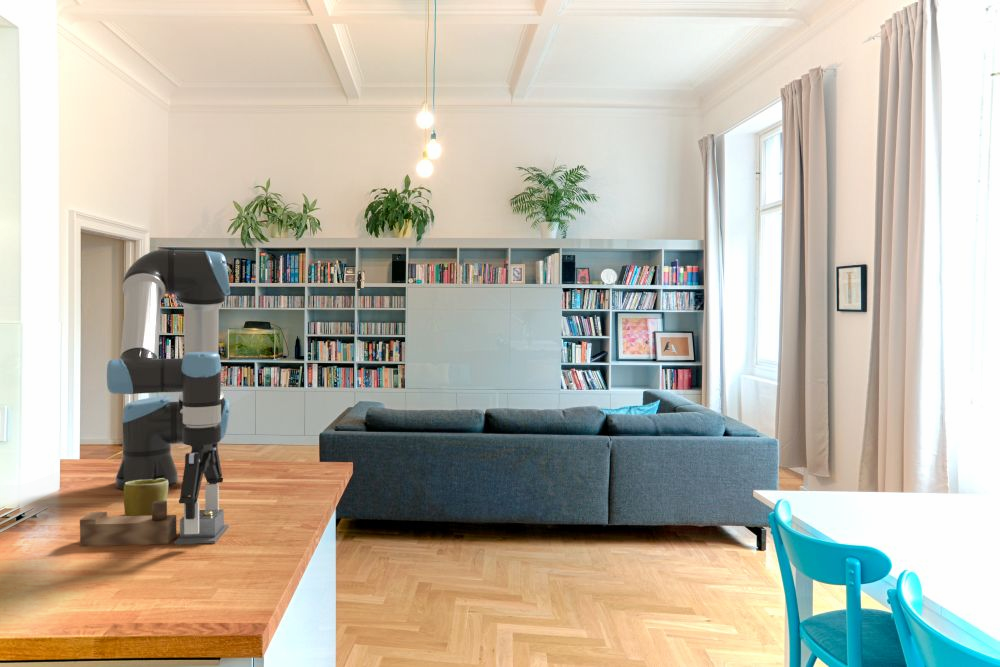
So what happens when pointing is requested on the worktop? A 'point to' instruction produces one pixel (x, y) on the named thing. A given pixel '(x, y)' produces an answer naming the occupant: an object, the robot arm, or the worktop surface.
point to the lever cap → (206, 524)
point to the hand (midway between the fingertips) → (202, 522)
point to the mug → (143, 495)
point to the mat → (200, 540)
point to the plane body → (128, 528)
